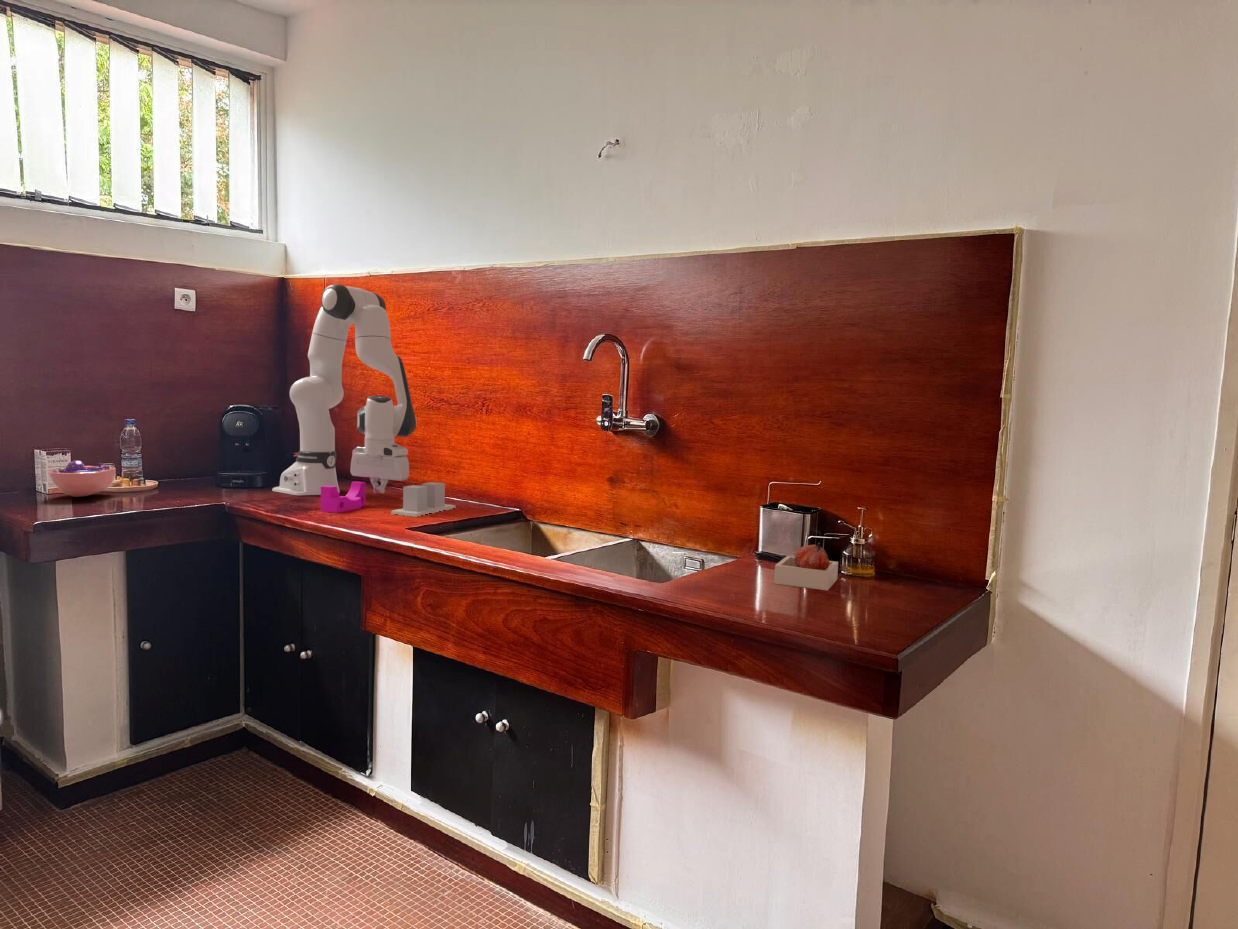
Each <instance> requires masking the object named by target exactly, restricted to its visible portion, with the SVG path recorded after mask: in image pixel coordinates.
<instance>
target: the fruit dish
mask: <svg viewBox="0 0 1238 929" xmlns="http://www.w3.org/2000/svg"><path fill="white" fill-rule="evenodd" d="M838 572H839V561H833V560H829V567H828V568H827V569H826V570H817V569H809V568H801V567H798V566H796V564H795V556H791V555H786V556H785V557H783V558H782V559H781V560H779V562H777V563H776V564H775V565H774V576H773V584H775V585H782V586H783V585H784V586H790V587H798V588H805V589H813V590H821V591H829V590H830V589H831V588H832V586H833V585H834V584H835V582H837V580H838V574H839V573H838Z"/></svg>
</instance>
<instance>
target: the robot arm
mask: <svg viewBox="0 0 1238 929" xmlns="http://www.w3.org/2000/svg"><path fill="white" fill-rule="evenodd" d="M320 299H321V300H320V301H321V302H320V303H321V304H320V305H321V307H320V309H319V311H318V313H317V316H316V317H315V322H314V324H313V329H312V333H311V336H310V342H309V346H308V347H309V348H308V352H307V359H308V360H309V376H306V377H302V378H300V379H298V380H297V381H294V383H293V384H291V386H290V389H289V399H290V401H291V403H292V404H293V405H294V408H295V411H296V415H297V416H296V417H297V421H298V426H299V451H298V452H294V453H293V454H295V455H293V457H296V458H295V462H293V463H292V465H290V466H289V467H288V468H287V469H285V470H284V471H282V473H281V475H280V478H279V486H275V487H272V490H271V491H272V492H276V493H281V494H287V495H291V496H321V486H327V485H328V486H337V490H338V493H339V494H340V493H341V490H340V487H339V483H338V479H337V478H338V476H337V470H336V462H337V451H336V441H335V440H336V437H335V436H336V430H335V429H336V428H335V426H334V424H333V422H332V420H331V416H330V410H329V409H332V408H334V407H336V406H337V405H338V404H340V403H341V402H342V400H343V398H344V395H345V394H344V393H345V391H344V387H343V385H342V383H343V382H342V381H343V380H342V378H343V377H342V373H343V370H342V369H343V360H344V356H345V350H346V346H347V341H348V336H349V329H351V326H352V325H353V326H354V332H355V333H354V343H355V344H354V345H355V352H356V353H355V354H356V356H357V358H358V359H359V361H361V363H363V364H364V365H366V367H369V368H371V369H374V370H376V371H378V372H381V373H383V374H385V375H386V376H388V377H389V378H390V379H391V380H392V383H393V387H394V390H395V391H394V392H395V397H396V402H397V405H394V402H393V399H392V398H391V397H389V396H385V395H371V396H368V397H367V399H366V402H365V403H366V404H365V406H364V405H363V406H361V408H359V409H358V410H357V411H356V430H358V431H359V432H360V433H361V434H362V435H364V446H356V447H354V448H353V449H352V453H351V454H352V455H351V456H352V457H351V460H350V475H352V476H353V477H359V478H360V477H361V478H369V480H370V483H371V485H372V487H373V493H376V494H377V493H379V494H384V493H385V491H386V490H385V488H386V486H387V484H388V482H389V481H390V480H391V481H399V482H400V481H401V482H402V481H407V480H408V478H409V476H410V463H409V459H408V457H407V456H408V454H409V450H408V448H406V447H404V446H402V445H400V444H398V443H397V442H395V437H397V438H398V437H399V438H400V437H401V438H407V437H409V436H411V435H412V434H413V433H414V432H415V431H416V428H417V417H416V412H415V410H414V407H413V406H414V405H413V401H412V397H411V393H410V389H409V383H408V377H407V374H406V369H405V366H404V362H403V360H402V357H400V356H399V355H397V354H396V352H395V350H394V349H393V346H392V335H391V333H392V332H391V326H390V319H389V315H388V312H387V305H386V301H385V300H384V298H383V297H382V296H380V295H379V294H377V293H376V292H373V291H369V290H366V289H364V288H360V287H354V286H348V285H344V284H330V285H328V286H327V287H326V288H324V290H323V293H322V294H321V298H320ZM378 482H380V485H379V483H378Z"/></svg>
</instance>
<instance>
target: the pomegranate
mask: <svg viewBox="0 0 1238 929" xmlns="http://www.w3.org/2000/svg"><path fill="white" fill-rule="evenodd" d="M794 557H795V564H796V566H798V567H801V568H809V569H817V570H826V569H827V568H828V567H829V561H830V560H829V557H828V553H827V552H826V550H825V549H824V548H822V547H821V543H820V542H818V543H817V544H808V545H807V544H806V545H803V546H801V547H800V548H799V549H798V550H797V551H796V553H795V555H794Z"/></svg>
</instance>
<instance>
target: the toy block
mask: <svg viewBox="0 0 1238 929" xmlns="http://www.w3.org/2000/svg"><path fill="white" fill-rule="evenodd" d="M361 506H364V507H366V481H357V480H356V481H351V484H350V488H349V489H348V492H347V493H346V495H345V496H344V495H343V496H342V495H340V492H339V493H338V490H337V486H328V485H327V486H321V495H320V512H322V513H323V512H324V513H343V512H344V513H345V512H348V511H354V510H359V509H362V507H361Z"/></svg>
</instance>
